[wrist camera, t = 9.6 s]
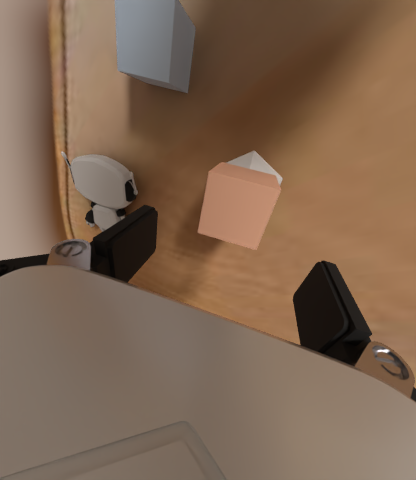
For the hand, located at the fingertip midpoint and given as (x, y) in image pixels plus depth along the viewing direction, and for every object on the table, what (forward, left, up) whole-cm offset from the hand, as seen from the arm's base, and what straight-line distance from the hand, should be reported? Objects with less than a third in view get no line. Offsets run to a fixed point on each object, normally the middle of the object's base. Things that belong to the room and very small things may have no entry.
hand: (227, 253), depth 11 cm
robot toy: (+9, -23, -21) cm, 32 cm away
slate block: (-12, -14, -20) cm, 27 cm away
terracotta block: (0, 0, -13) cm, 13 cm away
